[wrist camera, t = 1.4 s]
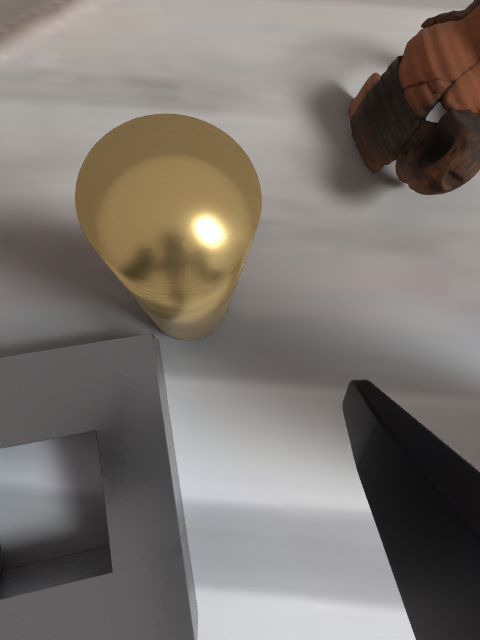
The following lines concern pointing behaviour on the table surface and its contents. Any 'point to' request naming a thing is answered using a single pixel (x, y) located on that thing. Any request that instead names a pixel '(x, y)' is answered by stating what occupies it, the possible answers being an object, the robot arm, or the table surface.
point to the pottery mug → (426, 106)
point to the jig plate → (119, 493)
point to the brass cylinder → (171, 217)
